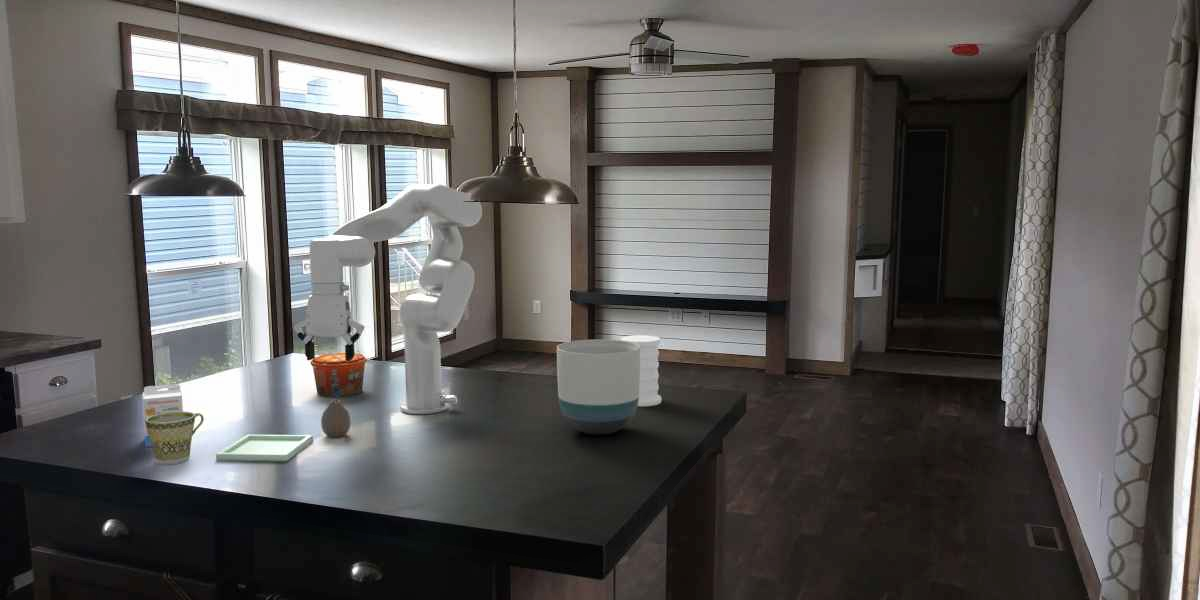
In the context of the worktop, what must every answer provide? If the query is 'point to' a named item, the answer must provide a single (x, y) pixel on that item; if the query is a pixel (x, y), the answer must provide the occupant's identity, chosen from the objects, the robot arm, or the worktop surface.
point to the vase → (335, 420)
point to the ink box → (160, 403)
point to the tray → (264, 448)
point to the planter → (598, 384)
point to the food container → (338, 374)
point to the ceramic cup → (172, 436)
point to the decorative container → (647, 368)
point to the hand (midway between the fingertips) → (330, 359)
